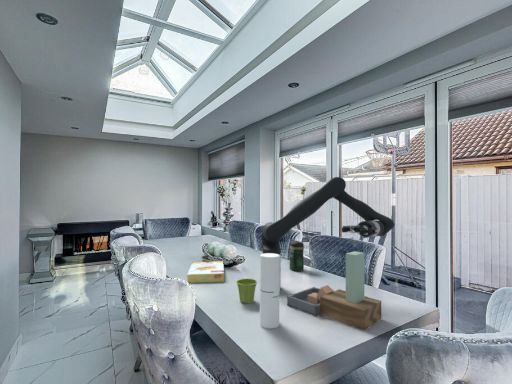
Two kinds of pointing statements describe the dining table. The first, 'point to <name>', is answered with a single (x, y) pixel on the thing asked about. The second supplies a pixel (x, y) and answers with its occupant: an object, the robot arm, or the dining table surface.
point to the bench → (350, 310)
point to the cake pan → (205, 258)
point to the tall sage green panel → (354, 277)
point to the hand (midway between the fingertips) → (351, 230)
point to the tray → (304, 301)
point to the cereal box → (206, 272)
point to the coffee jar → (296, 256)
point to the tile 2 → (324, 291)
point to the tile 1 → (313, 298)
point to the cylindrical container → (269, 290)
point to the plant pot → (246, 289)
